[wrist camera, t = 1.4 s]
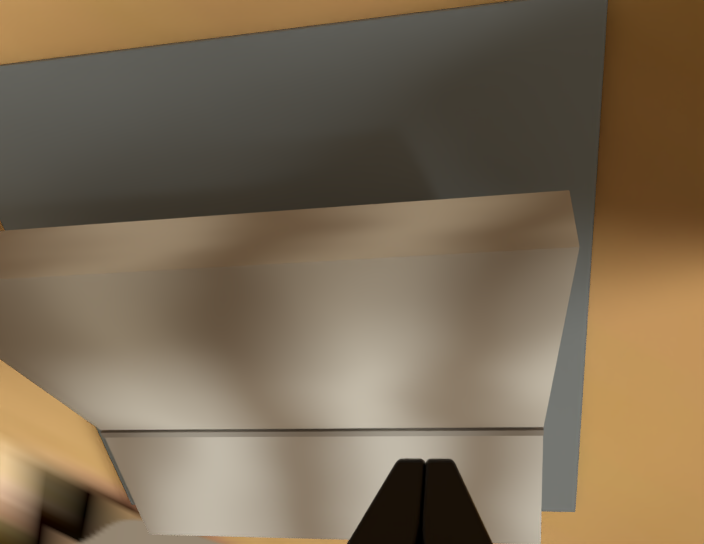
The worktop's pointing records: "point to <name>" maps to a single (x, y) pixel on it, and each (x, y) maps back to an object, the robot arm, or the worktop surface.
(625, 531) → the worktop surface
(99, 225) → the loose plank
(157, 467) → the grey flat block
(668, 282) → the worktop surface
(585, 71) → the underlay mat
